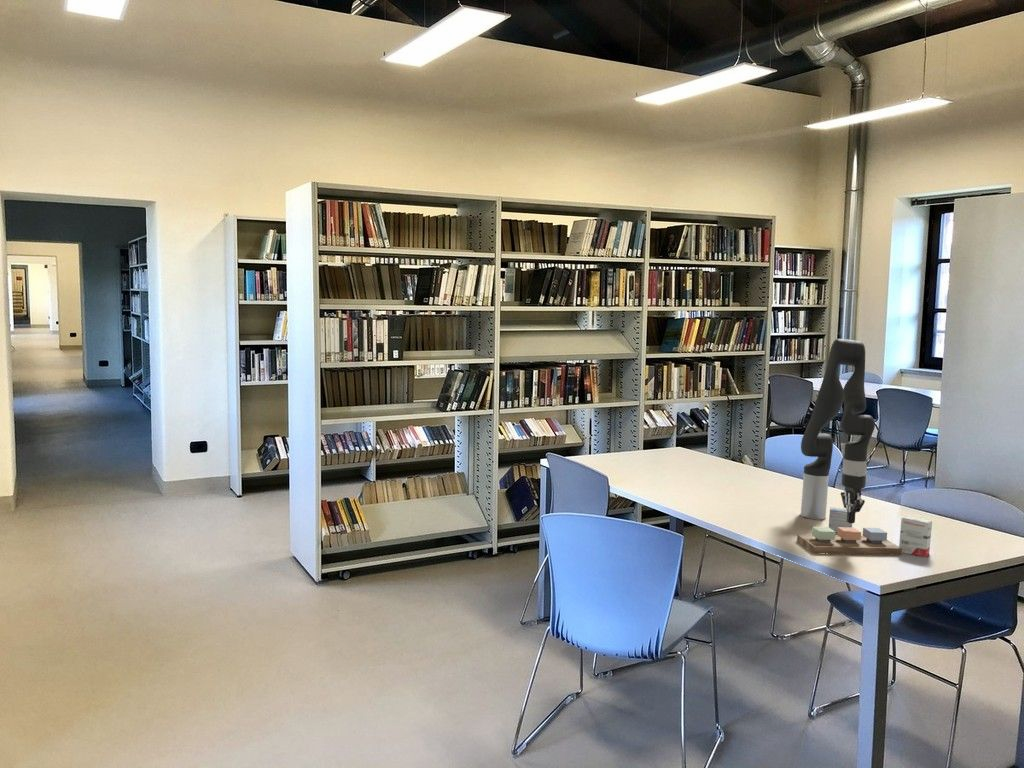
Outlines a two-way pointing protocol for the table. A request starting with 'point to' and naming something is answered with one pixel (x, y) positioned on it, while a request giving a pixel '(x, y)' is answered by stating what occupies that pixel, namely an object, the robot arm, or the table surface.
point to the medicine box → (838, 518)
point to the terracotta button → (849, 533)
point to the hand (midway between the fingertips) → (850, 522)
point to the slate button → (875, 534)
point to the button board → (849, 546)
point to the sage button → (823, 533)
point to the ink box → (915, 536)
